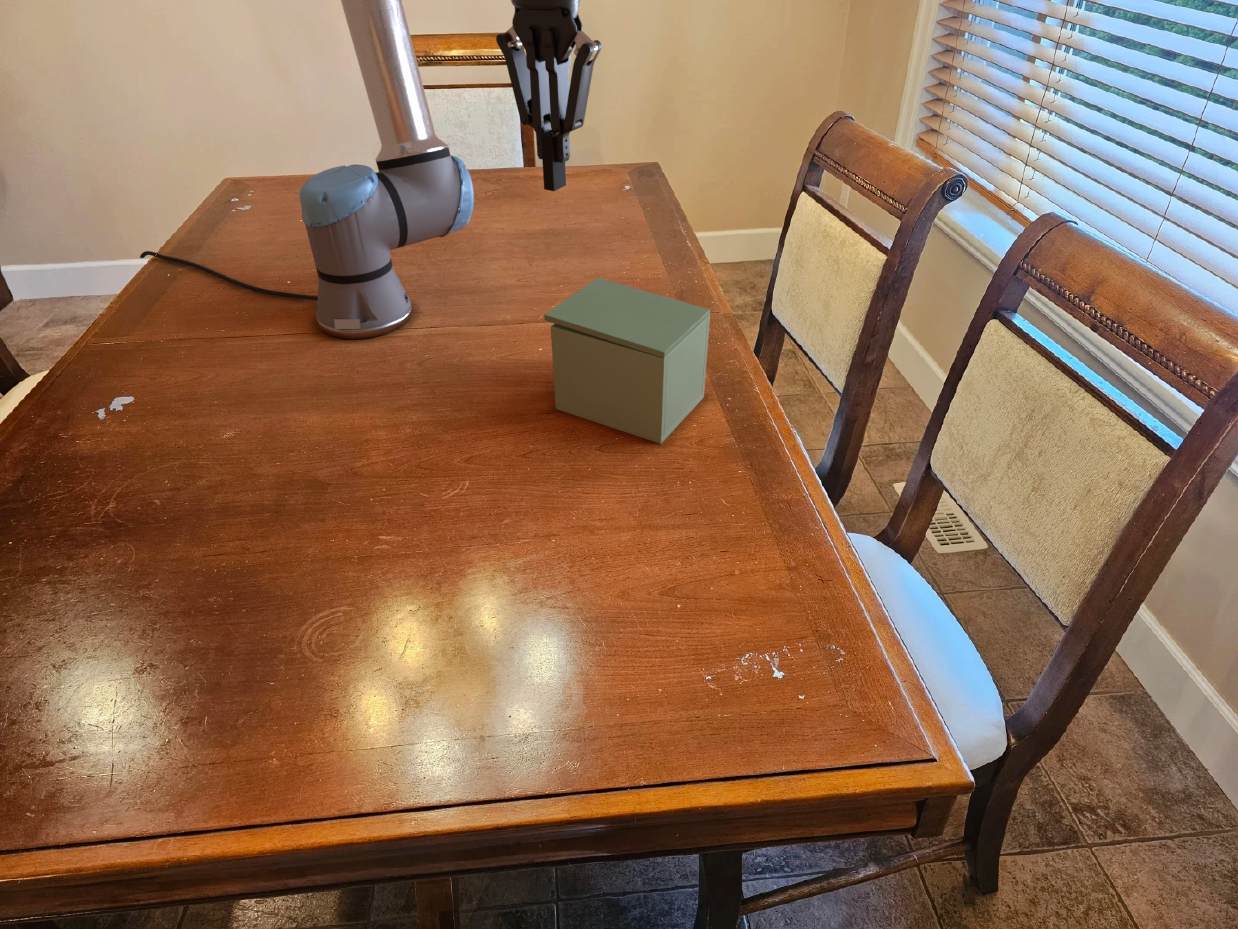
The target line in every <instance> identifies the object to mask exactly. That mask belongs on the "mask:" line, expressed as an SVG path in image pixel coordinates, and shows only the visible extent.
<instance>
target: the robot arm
mask: <svg viewBox="0 0 1238 929" xmlns="http://www.w3.org/2000/svg"><path fill="white" fill-rule="evenodd" d="M510 2H511V5H512V6H513V7H514V13H513V17H512V20H511V25H512V26H511V27H510V28H509V29H507V31H505V32H502V33H499V34H497V35H496V37H495V40H496V44H497V46H498V47H499V49H500V51H501V53H502V55H503V57H504V60H505V64H506V68H507V72H508V76H509V80H510V85H511V88H512V92H513V96H514V100H515V104H516V108H517V112H518V116H519V120H520V122H521V124H522V125H523V126H527V125H528V126H529V127H531V128H532V129H533V131H534V133H535V139H536V140H535V141H536V155H537V157H538V159H539V160H541V161H542V176H543V177H542V178H543V190H544V191H550V192H556V191H557V190H560V189H561V188H564V187H565V186H567V174H566V171H567V170H566V162H568V161H569V160H570V158H571V150H570V146H571V145H570V134H571V132H574V131H575V130H577V129H580V128H582V127H583V126H584V124H585V118H586V112H587V106H588V101H589V95H590V90H591V88H590V87H591V84H592V78H593V71H594V66H595V62H596V60H597V58H598V57H599V54H600V53H601V50H602V47H603V46H602V43H601V41H600V40H598V39H594V40H592V39H591V38H590V37H589V36H588V35H587V34H586V33H585V32H584V31H583V30H584V29H583V28H584V27H583V23H582V21H581V18H580V15H579V7H580V3H581V0H510ZM340 3H341V6H342V9H343V10H342V11H343V13H344V17H345V20H346V24H347V28H348V31H349V34H350V38H351V41H352V45H353V49H354V53H355V56H356V60H357V63H358V66H359V70H360V73H361V77H362V81H363V85H364V88H365V92H366V95H367V98H368V102H369V106H370V109H371V113H372V117H373V121H374V123H375V127H376V131H377V135H378V138H379V141H380V144H381V146H380V149H379V152H378V153H377V155H376V157H375V159H374V160H375V163H376V166H377V170H378V172H376V171H375V170H374V169H373V168H372V167H370V166H368V165H365V164H350V165H347V166H346V165H338V166H335V167H331V168H328V169H325V170H322V171H321V172H318V173H316V174H313V175H312V176H310V178H308V179H307V180H306V181H305V182H304V184H303V185H302V186H301V188H300V190H299V201H300V202H299V203H300V208H301V218H302V222H303V223H304V227H305V229H306V234H307V237H308V241H309V246H310V249H311V253H312V257H313V261H314V265H315V269H316V273H317V277H318V288H317V295H309V294H301V293H292V292H285V291H279V290H272V289H268V288H267V289H266V288H261V287H258V286H254V285H251V284H249V283H245V282H243V281H239V280H237V279H235V278H231V277H229V276H227V275H224V274H223V273H220V272H218V271H216V270H213V269H210V268H209V267H206V266H203V265H201V264H198V263H196V262H192V261H189V260H185V259H182V258H178V257H174V256H169V255H163V254H160V253H158V252H155V251H151V250H146V251H142V253H141V254H140V255H139V258H140V259H144V258H146V256H152V257H155V258H158V259H161V260H165V261H169V262H174V263H178V264H183V265H186V266H189V267H192V268H195V269H198V270H200V271H203V272H206V273H208V274H210V275H213V276H215V277H217V278H219V279H222V280H224V281H226V282H228V283H231V284H233V285H236V286H239V287H242V288H244V289H247V290H251V291H254V292H256V293H257V292H258V293H262V294H266V295H272V296H278V297H284V298H292V299H299V300H300V299H301V300H309V301H317V304H316V306H315V318H316V322H317V326H318V328H319V330H321V331H322V332H323V333H325V334H327V335H328V336H332V337H335V338H340V339H350V340H355V339H360V340H361V339H368V338H374V337H379V336H383V335H386V334H390V333H391V332H394V331H396V330H398V329H400V328H401V327H403V326H405V325H406V324H407V323H408V322H409V321H410V320H411V318H412V316H413V307H412V302H411V299H410V296H409V295H408V293H407V292H406V290H405V287H403V283H402V282H401V280H400V279H399V276H398V275H397V273H396V271H395V270H394V266H393V261H392V260H393V259H392V255H391V251H393V250H396V249H399V248H403V247H406V246H407V247H408V246H411V245H415V244H417V243H422V242H425V241H428V240H432V239H435V238H444V237H447V236H448V235H450V234H453V233H456V232H458V231H461V230H463V229H464V228H465V227H467V225H468V224H469V222H470V220H471V217H472V215H473V211H474V206H475V194H474V186H473V181H472V177H471V175H470V172H469V170H468V169H466V167H467V166H466V164H465V163H464V161H463V160H462V159H461V158H459V157H457V156H455V155H453V154H451V151H450V147H449V145H448V144H447V142H445V141H443V140H441V139H440V138H439V137H438V136H437V135H436V132H435V131H436V130H435V126H434V124H433V120H432V116H431V112H430V109H429V104H428V100H427V96H426V95H427V94H426V92H425V87H424V85H423V79H422V76H421V72H420V68H419V64H418V60H417V56H416V52H415V48H414V44H413V40H412V36H411V33H410V28H409V25H408V24H409V23H408V20H407V17H406V12H405V9H404V5H403V1H402V0H340ZM573 50H574V51H573ZM572 51H573V54H574V56H575V58H574V61H573V64H572V56H571V54H572ZM571 66H572V70H571V77H570V69H571ZM156 254H157V255H156ZM155 255H156V256H155Z"/></svg>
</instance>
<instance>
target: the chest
mask: <svg viewBox="0 0 1238 929" xmlns="http://www.w3.org/2000/svg"><path fill="white" fill-rule="evenodd" d="M710 322H711V315H710V316H709V317H707V318H706V319H705V320H704V321H703V322H702V323H701V324H700V325H699V326H698V327H697V328H696V329H695V330H694V331H693V332H691V333H690V334H689V335H688V336H687V337H686V338H685V339H684V340H683V341H682V342H681V343H680V344H679V345H678V346H676V347H675V348H674V349H673V350H672V351H671V352H670V353H669V354H668V355H667V356H666V357H665V358H662V357H659V356H656V355H653V354H649V353H646V352H643V351H640V350H637V349H634V348H630V347H627V346H624V345H621V344H618V343H615V342H612V341H608V340H605V339H602V338H599V337H596V336H593V335H590V334H586V333H583V332H580V331H577V330H574V329H571V328H567V327H564V326H561V325H558V324H555V323H553V324H552V325H551V326H550V338H551V340H550V341H551V356H552V370H553V372H552V373H553V385H554V386H553V390H554V404H555V405H554V406H555V410H557V411H560V412H564V413H566V414H570V415H571V416H572V415H573V416H576V417H578V418H581V419H585V420H588V421H591V422H592V423H593V422H594V423H596V424H600V425H602V426H606V427H607V428H611V429H615V430H617V431H621V432H623V433H627V434H630V435H632V436H636V437H638V438H641V439H645V440H646V441H651V442H654V443H656V444H659V445H662V444H663V443H664V441H665V440H666V439H667V438H668V437H669V436H670V435H671V434H672V433H673V432H674V431H675V429H676V428H677V427H678V426H679V425H680V424H681V423H682V422H683V421H684V420H685V418H687V417H688V416H689V414H691V412H692V411H693V410H694V409H695V408H696V407H697V406H698V404H699V403H700V402H701V401H702V400H703V399H704V398H705V389H706V388H705V387H706V377H707V376H706V374H707V361H708V347H709V334H710Z"/></svg>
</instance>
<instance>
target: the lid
mask: <svg viewBox="0 0 1238 929" xmlns="http://www.w3.org/2000/svg"><path fill="white" fill-rule="evenodd" d="M709 316H710V317H711V308H706V307H703V306H700V305H695V304H693V303H689V302H685V301H682V300H678V299H675V298H672V297H667V296H664V295H661V294H657V293H654V292H650V291H646V290H643V289H640V288H636V287H632V286H629V285H626V284H622V283H618V282H615V281H612V280H609V279H604V278H601V277H596V278H594V279H593V280H591V281H590V282H589V283H587V284H586V285H585V286H583V287H582V288H580V289H578V290H577V291H576V292H575V293H573V294H572V295H570V296H569V297H567V298H566V299H564V300H563V301H562V302H560V303H559V304H557V305H556V306H554V307H553V308H551V309H550V310H549V311H547V312H546V313H544V316H543V317H544V321H546V322H548V323H549V322H550V323H551V324H552V323H553V324H558V325H561V326H564V327H567V328H571V329H574V330H577V331H580V332H583V333H586V334H590V335H593V336H596V337H599V338H602V339H605V340H608V341H612V342H615V343H618V344H621V345H624V346H627V347H630V348H634V349H637V350H640V351H643V352H646V353H649V354H653V355H656V356H659V357H662V358H665V357H666V356H667V355H668V354H669V353H670V352H671V351H672V350H673V349H674V348H675V347H676V346H678V345H679V344H680V343H681V342H682V341H683V340H684V339H685V338H686V337H687V336H688V335H689V334H690V333H691V332H693V331H694V330H695V329H696V328H697V327H698V326H699V325H700V324H701V323H702V322H703V321H704V320H705V319H706V318H707V317H709Z"/></svg>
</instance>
